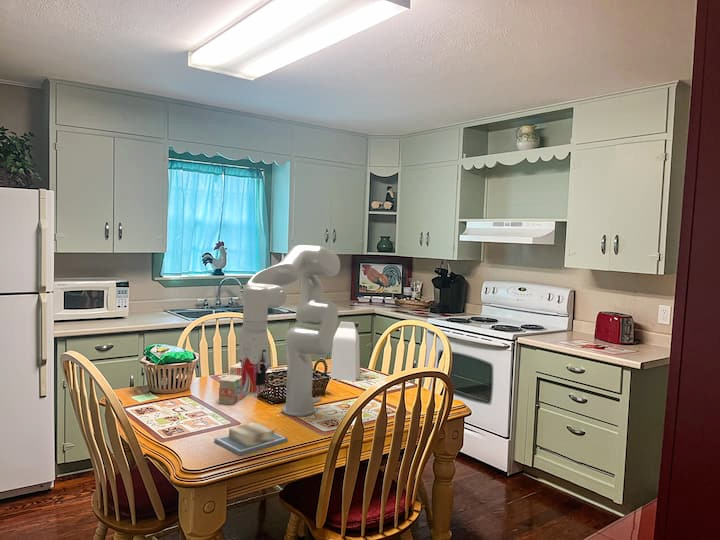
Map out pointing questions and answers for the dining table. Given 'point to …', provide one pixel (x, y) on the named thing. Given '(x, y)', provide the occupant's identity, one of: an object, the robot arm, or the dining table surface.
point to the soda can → (250, 377)
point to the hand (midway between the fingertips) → (253, 381)
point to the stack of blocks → (232, 386)
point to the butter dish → (250, 438)
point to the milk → (345, 353)
